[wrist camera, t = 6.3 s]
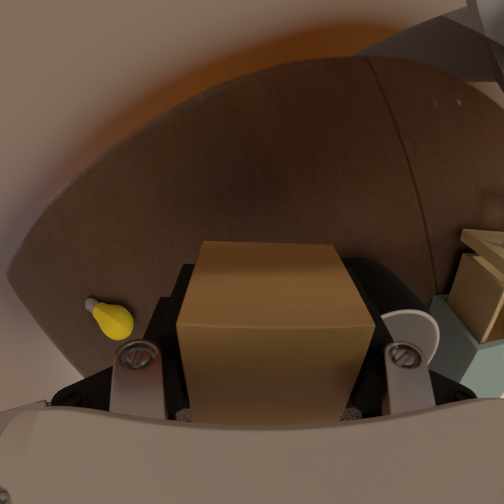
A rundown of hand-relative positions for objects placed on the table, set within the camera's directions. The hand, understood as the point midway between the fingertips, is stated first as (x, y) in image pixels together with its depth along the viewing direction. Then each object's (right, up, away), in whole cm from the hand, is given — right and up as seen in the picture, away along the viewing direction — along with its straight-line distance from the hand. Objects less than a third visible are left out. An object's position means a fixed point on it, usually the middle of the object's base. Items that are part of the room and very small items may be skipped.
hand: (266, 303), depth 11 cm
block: (0, 0, 0) cm, 0 cm away
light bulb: (-14, -3, +18) cm, 23 cm away
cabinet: (+25, -9, +21) cm, 34 cm away
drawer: (+25, +1, +15) cm, 30 cm away
